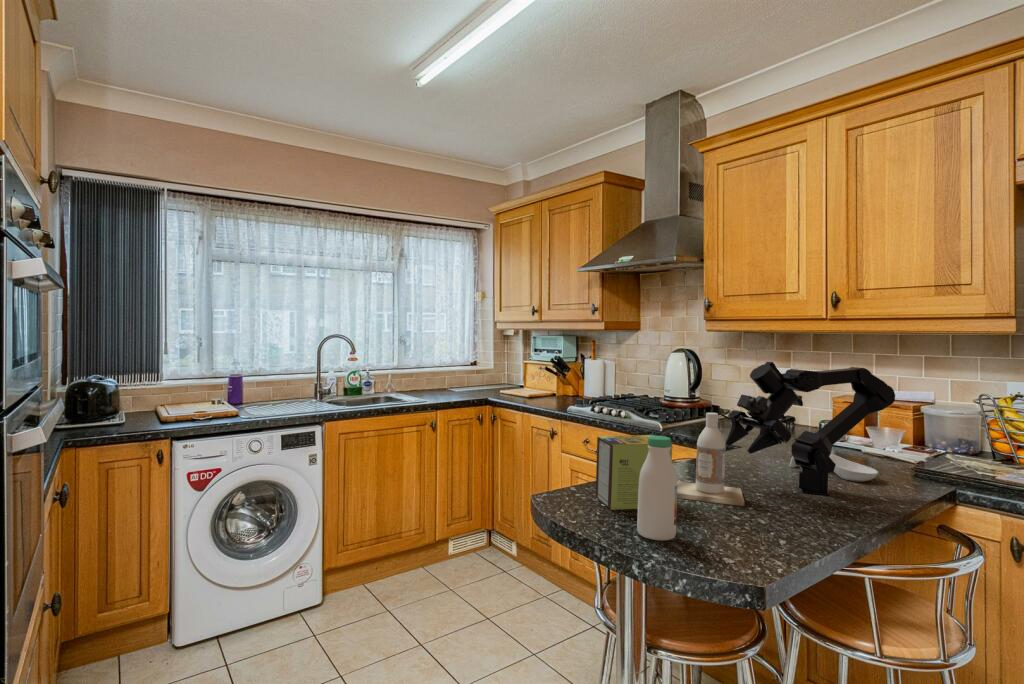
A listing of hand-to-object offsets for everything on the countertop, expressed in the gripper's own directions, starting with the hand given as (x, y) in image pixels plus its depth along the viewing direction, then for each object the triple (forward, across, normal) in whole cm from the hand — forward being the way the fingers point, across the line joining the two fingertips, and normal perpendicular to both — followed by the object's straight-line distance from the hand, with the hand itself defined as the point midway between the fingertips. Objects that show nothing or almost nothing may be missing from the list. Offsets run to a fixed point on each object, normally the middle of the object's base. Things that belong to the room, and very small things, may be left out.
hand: (737, 448), depth 141 cm
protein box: (+30, +3, -13) cm, 33 cm away
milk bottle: (+33, +23, -16) cm, 44 cm away
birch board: (+14, 0, +3) cm, 14 cm away
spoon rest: (-22, -15, +40) cm, 48 cm away
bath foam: (+13, 0, +2) cm, 13 cm away
